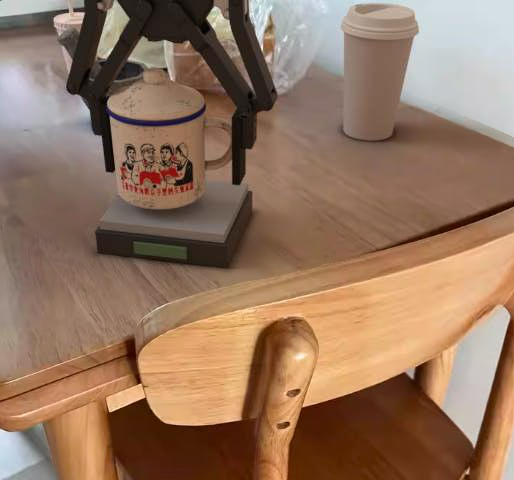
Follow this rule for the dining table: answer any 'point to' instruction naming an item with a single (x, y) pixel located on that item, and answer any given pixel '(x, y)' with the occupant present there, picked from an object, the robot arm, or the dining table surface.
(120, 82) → the mortar and pestle
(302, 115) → the dining table surface
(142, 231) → the scale
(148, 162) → the teacup with lid
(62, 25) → the smoothie
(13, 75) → the dining table surface
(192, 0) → the robot arm
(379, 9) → the coffee cup
